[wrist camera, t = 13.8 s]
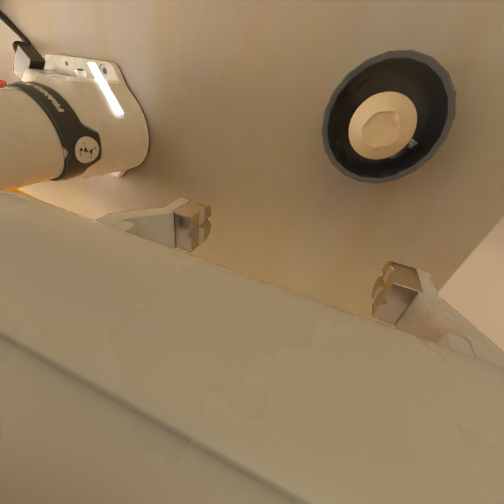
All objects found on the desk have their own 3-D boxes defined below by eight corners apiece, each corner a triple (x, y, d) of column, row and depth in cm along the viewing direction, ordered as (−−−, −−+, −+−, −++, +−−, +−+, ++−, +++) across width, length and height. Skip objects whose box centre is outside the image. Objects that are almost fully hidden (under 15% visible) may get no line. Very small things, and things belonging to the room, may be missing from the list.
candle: (386, 79, 27) (391, 73, 20) (417, 118, 28) (434, 128, 20) (344, 121, 31) (334, 130, 23) (372, 155, 31) (372, 175, 24)
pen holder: (319, 144, 34) (304, 157, 27) (362, 47, 27) (359, 30, 20) (394, 177, 32) (400, 199, 25) (459, 82, 26) (491, 77, 19)
